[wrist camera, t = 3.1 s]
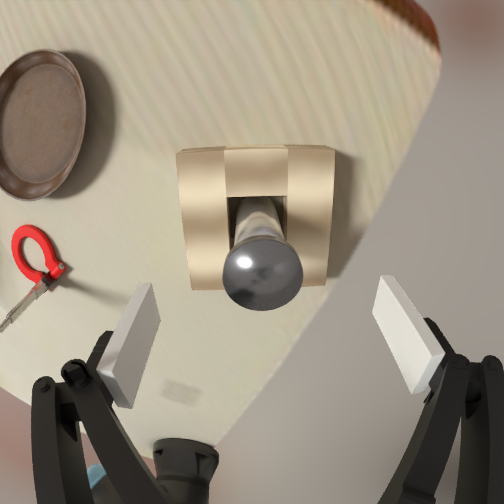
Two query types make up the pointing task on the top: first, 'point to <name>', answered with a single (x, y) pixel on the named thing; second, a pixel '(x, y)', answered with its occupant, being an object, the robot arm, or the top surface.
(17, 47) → the top surface
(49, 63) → the plant saucer
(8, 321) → the tow hook
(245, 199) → the steel pin
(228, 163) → the oak hitch block
